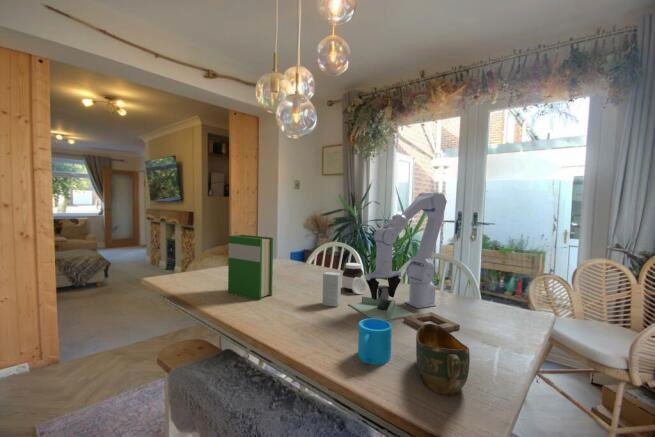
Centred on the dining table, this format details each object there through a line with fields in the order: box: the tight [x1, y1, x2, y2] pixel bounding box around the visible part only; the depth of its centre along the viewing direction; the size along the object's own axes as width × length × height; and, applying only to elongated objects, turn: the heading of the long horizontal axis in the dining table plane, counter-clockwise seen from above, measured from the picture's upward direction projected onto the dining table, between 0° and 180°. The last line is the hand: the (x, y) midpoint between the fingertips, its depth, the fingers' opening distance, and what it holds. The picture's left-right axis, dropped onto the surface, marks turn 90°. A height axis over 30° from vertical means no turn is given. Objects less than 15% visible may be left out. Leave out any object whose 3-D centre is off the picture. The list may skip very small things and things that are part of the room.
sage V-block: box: [348, 295, 416, 322], centre depth 111 cm, size 16×19×3 cm
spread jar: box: [341, 262, 367, 295], centre depth 135 cm, size 12×11×12 cm
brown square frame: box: [403, 311, 461, 333], centre depth 98 cm, size 12×12×2 cm
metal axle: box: [377, 284, 390, 310], centre depth 111 cm, size 4×4×8 cm
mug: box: [357, 318, 393, 366], centre depth 75 cm, size 12×8×8 cm
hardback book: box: [227, 234, 274, 301], centre depth 126 cm, size 18×7×24 cm, turn 59°
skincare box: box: [322, 271, 342, 308], centre depth 116 cm, size 6×4×12 cm
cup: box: [415, 323, 471, 396], centre depth 67 cm, size 13×20×10 cm, turn 146°
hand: (382, 297), depth 111 cm, fingers open, 7 cm apart
